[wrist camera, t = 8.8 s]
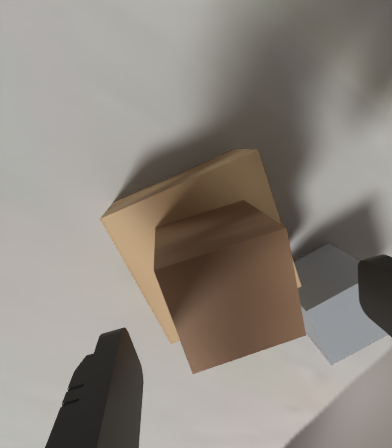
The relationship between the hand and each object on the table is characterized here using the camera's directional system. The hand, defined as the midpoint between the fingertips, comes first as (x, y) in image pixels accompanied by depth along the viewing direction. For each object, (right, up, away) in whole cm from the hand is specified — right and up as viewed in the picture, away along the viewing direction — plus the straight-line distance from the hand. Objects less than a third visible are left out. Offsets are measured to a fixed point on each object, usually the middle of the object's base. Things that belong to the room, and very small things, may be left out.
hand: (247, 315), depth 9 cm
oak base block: (-2, +3, +8) cm, 9 cm away
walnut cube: (-1, +2, +5) cm, 5 cm away
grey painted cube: (+7, -1, +10) cm, 12 cm away
